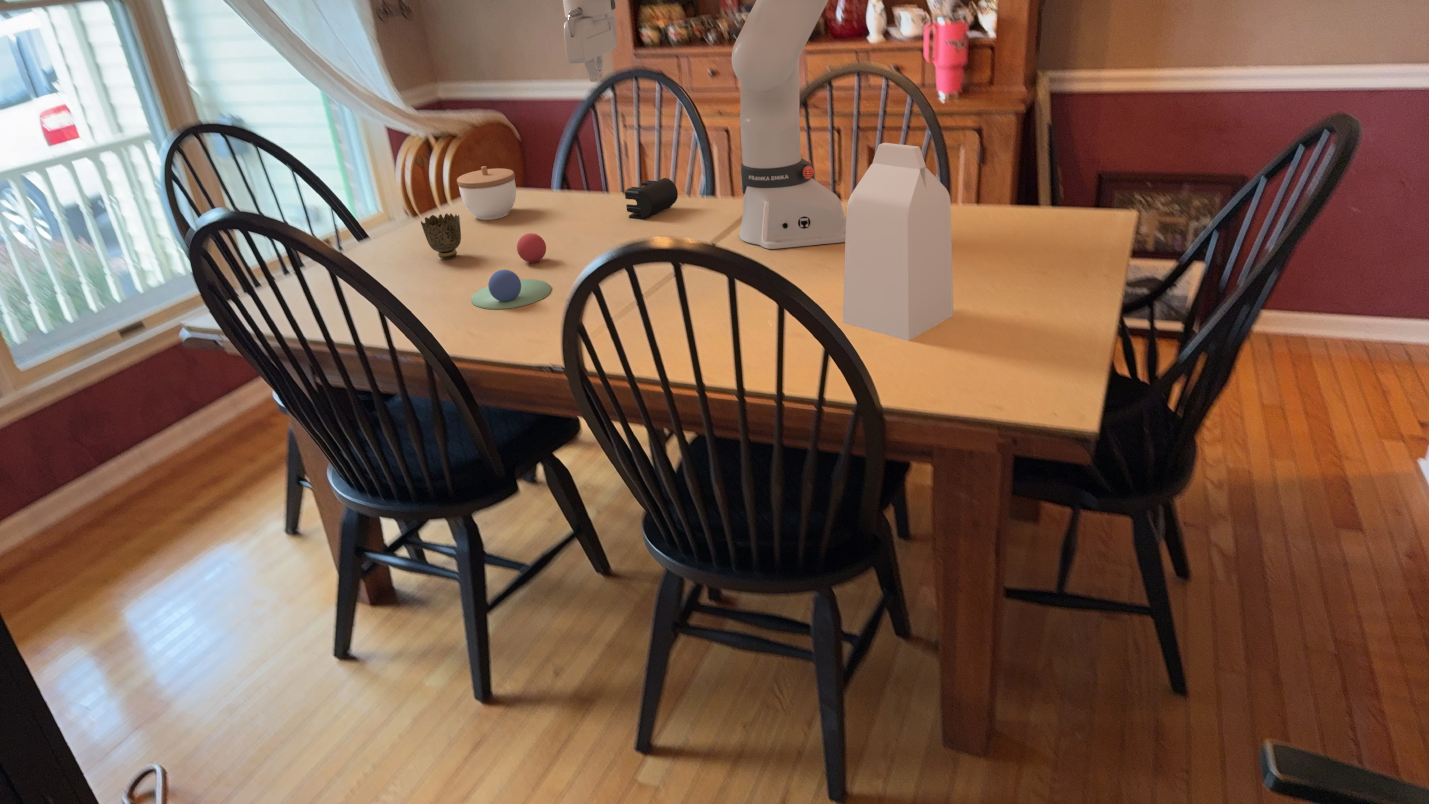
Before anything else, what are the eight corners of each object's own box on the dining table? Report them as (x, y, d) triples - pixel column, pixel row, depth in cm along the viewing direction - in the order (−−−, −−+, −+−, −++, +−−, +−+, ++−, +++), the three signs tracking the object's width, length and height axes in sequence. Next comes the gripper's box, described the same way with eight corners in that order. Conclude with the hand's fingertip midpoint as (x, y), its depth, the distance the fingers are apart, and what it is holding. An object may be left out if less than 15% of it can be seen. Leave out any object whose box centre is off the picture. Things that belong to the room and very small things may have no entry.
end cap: (653, 222, 201) (649, 190, 198) (626, 219, 204) (622, 188, 201) (680, 209, 208) (676, 178, 205) (653, 206, 212) (650, 176, 209)
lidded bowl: (532, 209, 217) (524, 161, 212) (493, 225, 208) (484, 175, 203) (492, 205, 223) (483, 158, 218) (453, 221, 214) (442, 172, 209)
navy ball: (523, 307, 165) (527, 278, 167) (512, 293, 160) (517, 264, 162) (492, 307, 166) (497, 278, 167) (481, 293, 161) (486, 263, 162)
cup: (457, 263, 186) (448, 223, 182) (422, 263, 188) (413, 224, 184) (473, 251, 193) (465, 212, 189) (439, 251, 194) (431, 213, 190)
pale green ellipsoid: (560, 279, 173) (560, 278, 173) (537, 308, 160) (537, 307, 160) (487, 281, 175) (487, 280, 175) (459, 310, 163) (458, 309, 163)
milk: (842, 322, 144) (838, 150, 133) (887, 299, 151) (888, 133, 139) (908, 341, 137) (910, 159, 125) (953, 315, 143) (959, 141, 132)
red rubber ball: (519, 236, 177) (540, 258, 178) (535, 223, 181) (556, 244, 182) (506, 251, 181) (527, 272, 182) (522, 237, 185) (543, 258, 186)
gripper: (583, 10, 173) (594, 89, 179) (618, -1, 190) (627, 71, 197) (551, 12, 174) (562, 90, 181) (588, 1, 192) (598, 73, 198)
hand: (596, 80), depth 189 cm, fingers closed
